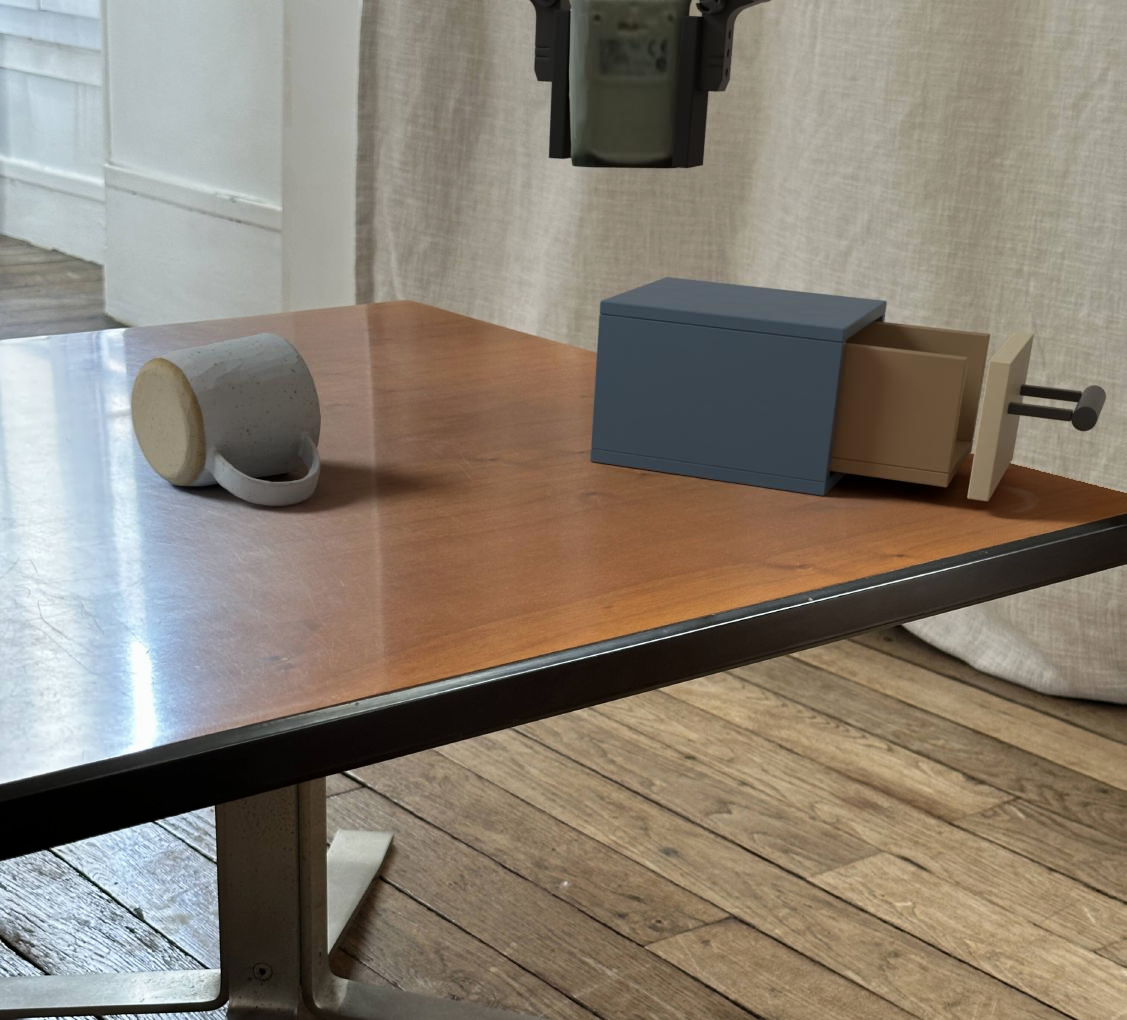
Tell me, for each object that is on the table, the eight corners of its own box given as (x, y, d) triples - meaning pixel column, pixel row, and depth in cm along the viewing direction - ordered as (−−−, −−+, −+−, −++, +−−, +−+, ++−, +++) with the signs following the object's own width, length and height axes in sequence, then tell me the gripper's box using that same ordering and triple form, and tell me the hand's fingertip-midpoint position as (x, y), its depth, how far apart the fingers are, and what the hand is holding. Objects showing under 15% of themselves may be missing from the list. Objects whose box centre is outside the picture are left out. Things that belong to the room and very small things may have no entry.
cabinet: (867, 452, 104) (887, 300, 100) (824, 496, 93) (844, 328, 89) (654, 422, 108) (665, 276, 104) (589, 461, 98) (599, 300, 94)
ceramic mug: (124, 473, 89) (117, 333, 86) (248, 454, 94) (245, 321, 91) (232, 521, 82) (229, 372, 79) (359, 497, 88) (360, 356, 84)
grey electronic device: (607, 172, 73) (616, -21, 70) (539, 163, 77) (545, -21, 74) (699, 171, 77) (712, -14, 73) (630, 162, 80) (639, -14, 77)
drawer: (1093, 470, 99) (1118, 342, 95) (1077, 514, 89) (1104, 373, 86) (802, 431, 104) (816, 309, 101) (757, 468, 94) (771, 334, 91)
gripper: (892, -406, 68) (830, 170, 78) (491, -391, 74) (479, 145, 83) (859, -455, 62) (796, 180, 71) (423, -435, 67) (418, 152, 77)
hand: (626, 160), depth 77 cm, fingers closed on grey electronic device, 5 cm apart
